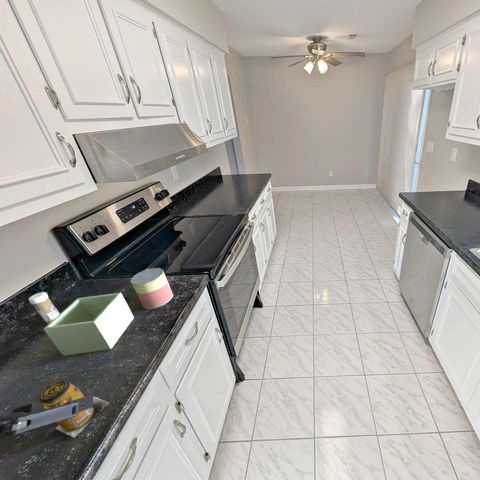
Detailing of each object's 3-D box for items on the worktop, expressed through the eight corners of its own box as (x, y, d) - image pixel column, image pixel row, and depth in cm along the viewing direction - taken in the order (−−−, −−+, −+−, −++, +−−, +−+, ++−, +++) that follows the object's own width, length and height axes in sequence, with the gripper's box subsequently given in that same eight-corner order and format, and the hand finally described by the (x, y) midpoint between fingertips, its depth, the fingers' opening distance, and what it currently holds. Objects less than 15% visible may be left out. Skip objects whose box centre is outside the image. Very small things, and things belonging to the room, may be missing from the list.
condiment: (55, 429, 62) (26, 399, 57) (91, 395, 69) (69, 366, 64) (74, 438, 60) (47, 408, 55) (110, 403, 67) (89, 373, 62)
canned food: (178, 296, 107) (168, 272, 101) (150, 312, 98) (138, 287, 93) (164, 288, 113) (155, 265, 107) (137, 302, 104) (125, 278, 99)
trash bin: (63, 356, 82) (43, 329, 77) (93, 323, 95) (77, 298, 90) (111, 349, 83) (94, 322, 78) (134, 317, 96) (121, 292, 91)
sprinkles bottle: (63, 324, 96) (44, 296, 90) (47, 330, 93) (26, 301, 87) (65, 317, 99) (46, 290, 93) (50, 323, 97) (29, 295, 91)
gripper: (-172, 493, 37) (-3, 434, 57) (15, 461, 39) (115, 415, 59) (-149, 433, 39) (6, 396, 59) (26, 405, 41) (118, 379, 61)
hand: (60, 405), depth 59 cm, fingers open, 13 cm apart
